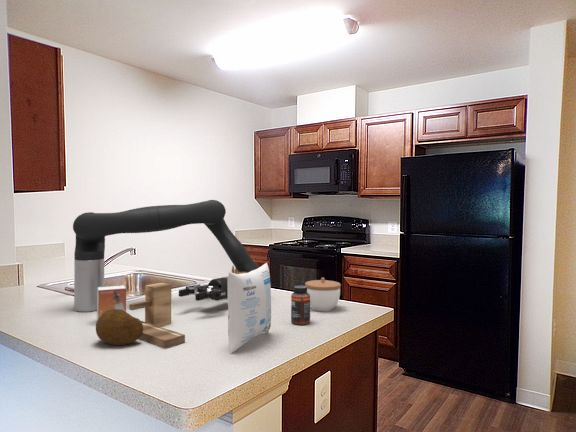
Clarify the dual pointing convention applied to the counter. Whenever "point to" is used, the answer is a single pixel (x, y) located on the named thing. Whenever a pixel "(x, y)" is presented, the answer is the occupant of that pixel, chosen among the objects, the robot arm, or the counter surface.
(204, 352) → the counter surface
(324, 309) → the lidded bowl
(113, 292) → the small box
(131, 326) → the potato
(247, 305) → the pouch
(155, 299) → the tan block
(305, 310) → the supplement bottle
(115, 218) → the robot arm
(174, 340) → the walnut board
